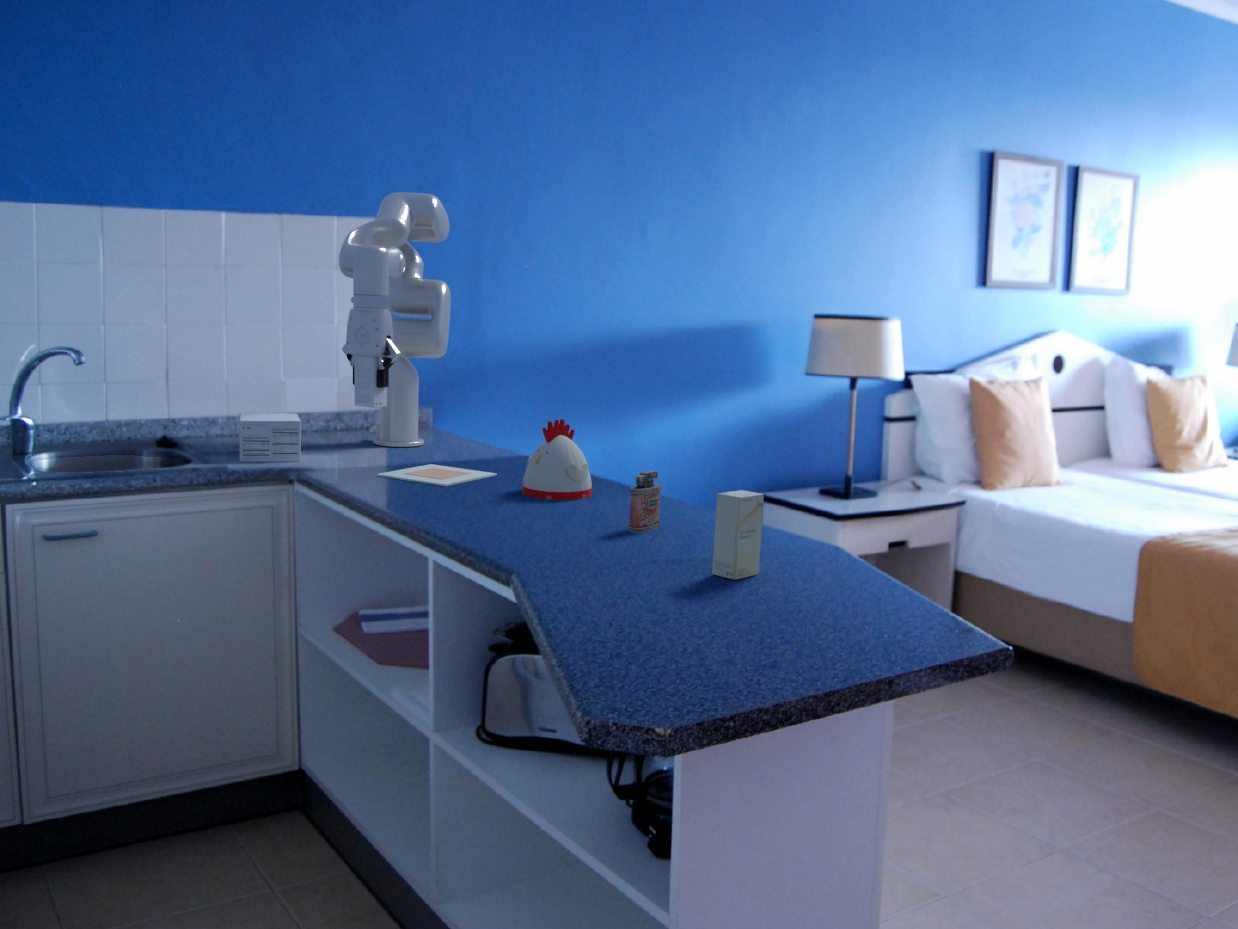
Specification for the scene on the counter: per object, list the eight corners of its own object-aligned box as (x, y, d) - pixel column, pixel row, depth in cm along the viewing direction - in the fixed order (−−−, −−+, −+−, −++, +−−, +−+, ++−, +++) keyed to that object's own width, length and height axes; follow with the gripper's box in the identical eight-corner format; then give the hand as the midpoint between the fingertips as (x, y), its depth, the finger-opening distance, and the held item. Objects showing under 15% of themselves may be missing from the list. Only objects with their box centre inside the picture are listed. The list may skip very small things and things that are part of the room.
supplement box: (301, 462, 239) (301, 420, 238) (239, 463, 235) (238, 420, 233) (297, 451, 255) (297, 411, 253) (239, 451, 250) (238, 411, 249)
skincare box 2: (735, 581, 154) (740, 497, 152) (710, 574, 156) (715, 493, 155) (760, 574, 158) (765, 493, 156) (735, 568, 161) (740, 488, 159)
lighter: (640, 534, 181) (643, 475, 180) (623, 531, 183) (626, 473, 182) (663, 526, 188) (666, 470, 187) (647, 523, 190) (650, 468, 188)
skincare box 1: (387, 406, 236) (387, 352, 234) (373, 408, 233) (373, 353, 231) (367, 404, 240) (367, 350, 237) (353, 405, 236) (353, 351, 234)
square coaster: (376, 475, 225) (376, 473, 225) (430, 465, 241) (430, 463, 241) (445, 486, 217) (445, 483, 217) (496, 475, 232) (496, 473, 232)
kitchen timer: (508, 491, 214) (510, 417, 212) (557, 485, 224) (560, 413, 222) (556, 503, 205) (558, 425, 203) (605, 495, 215) (608, 421, 213)
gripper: (328, 301, 233) (328, 383, 236) (390, 305, 225) (389, 390, 228) (352, 301, 240) (352, 381, 243) (413, 305, 232) (412, 388, 235)
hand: (370, 385), depth 235 cm, fingers closed on skincare box 1, 6 cm apart
